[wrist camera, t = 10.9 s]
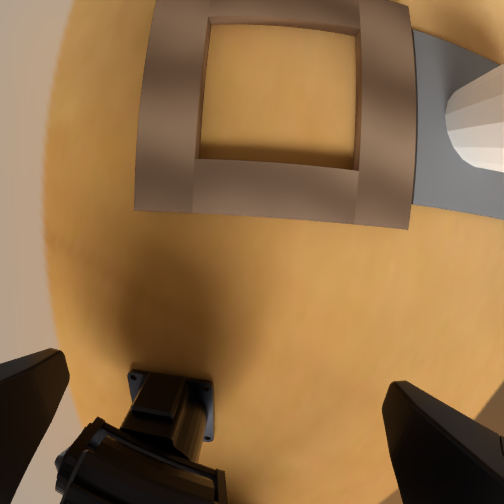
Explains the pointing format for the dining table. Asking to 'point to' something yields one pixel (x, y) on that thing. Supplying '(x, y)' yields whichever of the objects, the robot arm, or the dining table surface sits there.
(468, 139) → the white cup
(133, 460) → the robot arm
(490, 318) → the dining table surface
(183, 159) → the board
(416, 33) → the rubber mat
